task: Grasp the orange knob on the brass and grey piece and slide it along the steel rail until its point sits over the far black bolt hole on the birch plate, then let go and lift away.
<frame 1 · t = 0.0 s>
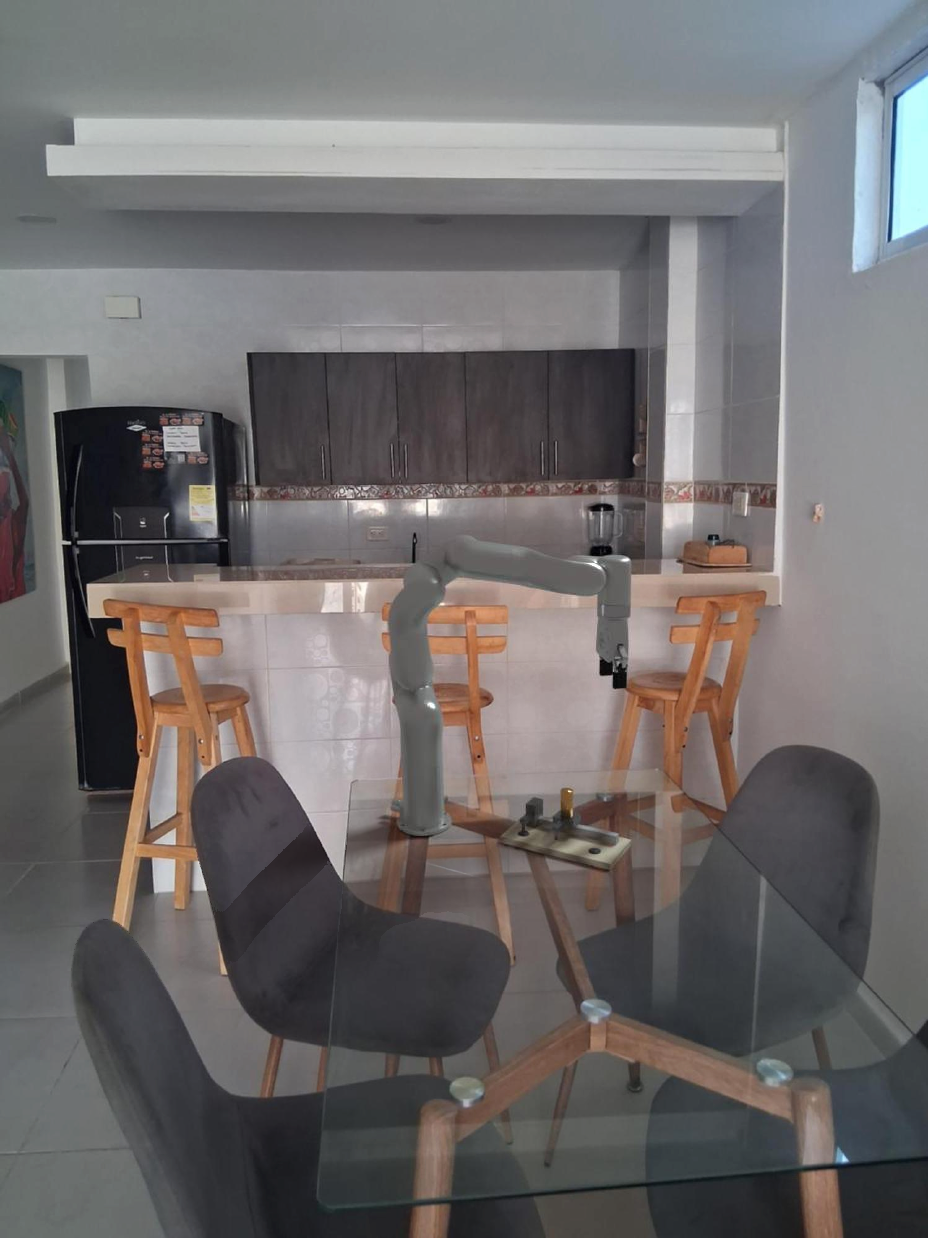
hand: (612, 681, 219), 31 cm above the table, tool pointing down, fingers open, 9 cm apart
hole plate: (565, 844, 209), on the table
brass and grey piece: (563, 813, 208), point 7 cm above the table, slide at 8.0 cm
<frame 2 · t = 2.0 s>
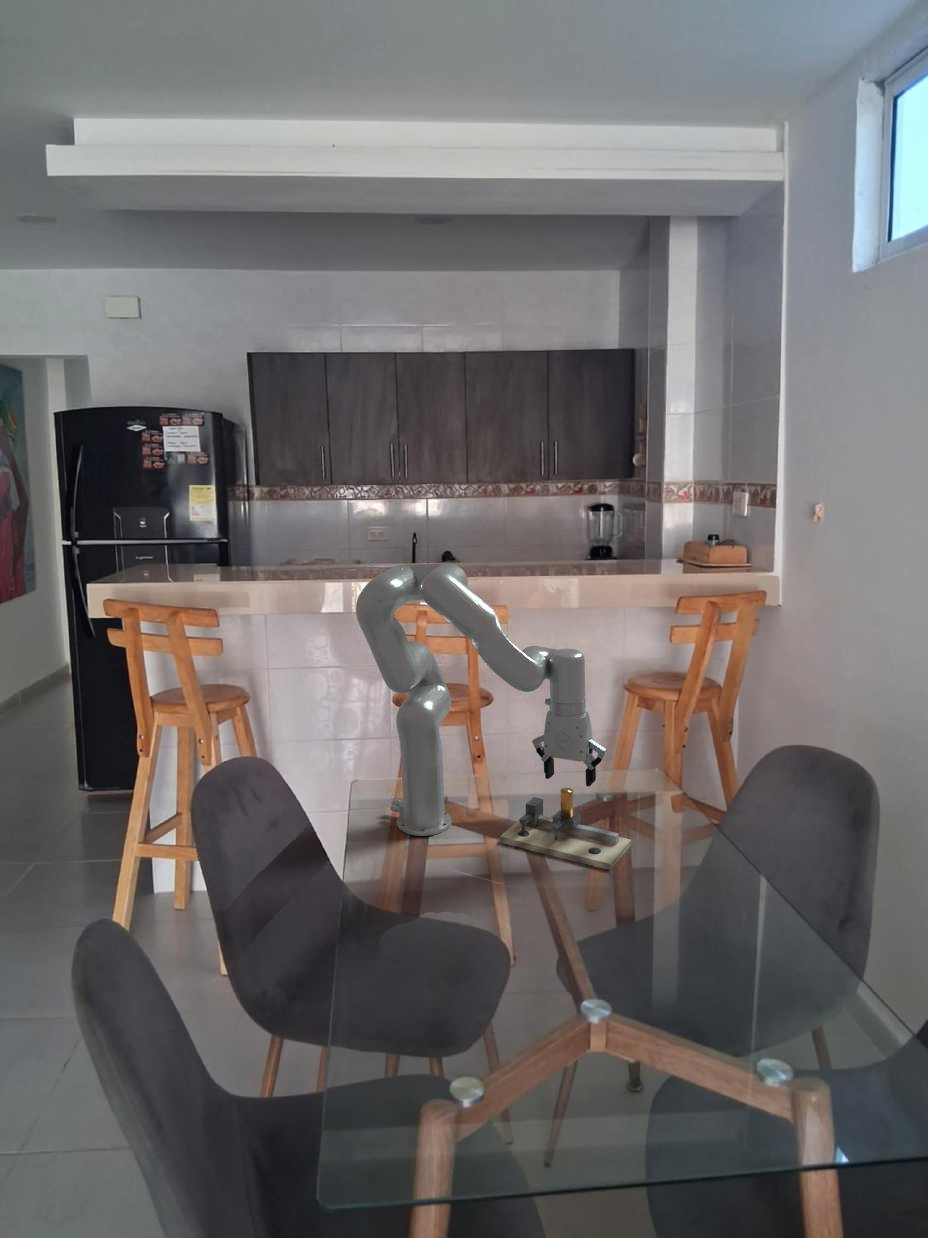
hand: (569, 780, 208), 14 cm above the table, tool pointing down, fingers open, 9 cm apart
nothing on the table moved.
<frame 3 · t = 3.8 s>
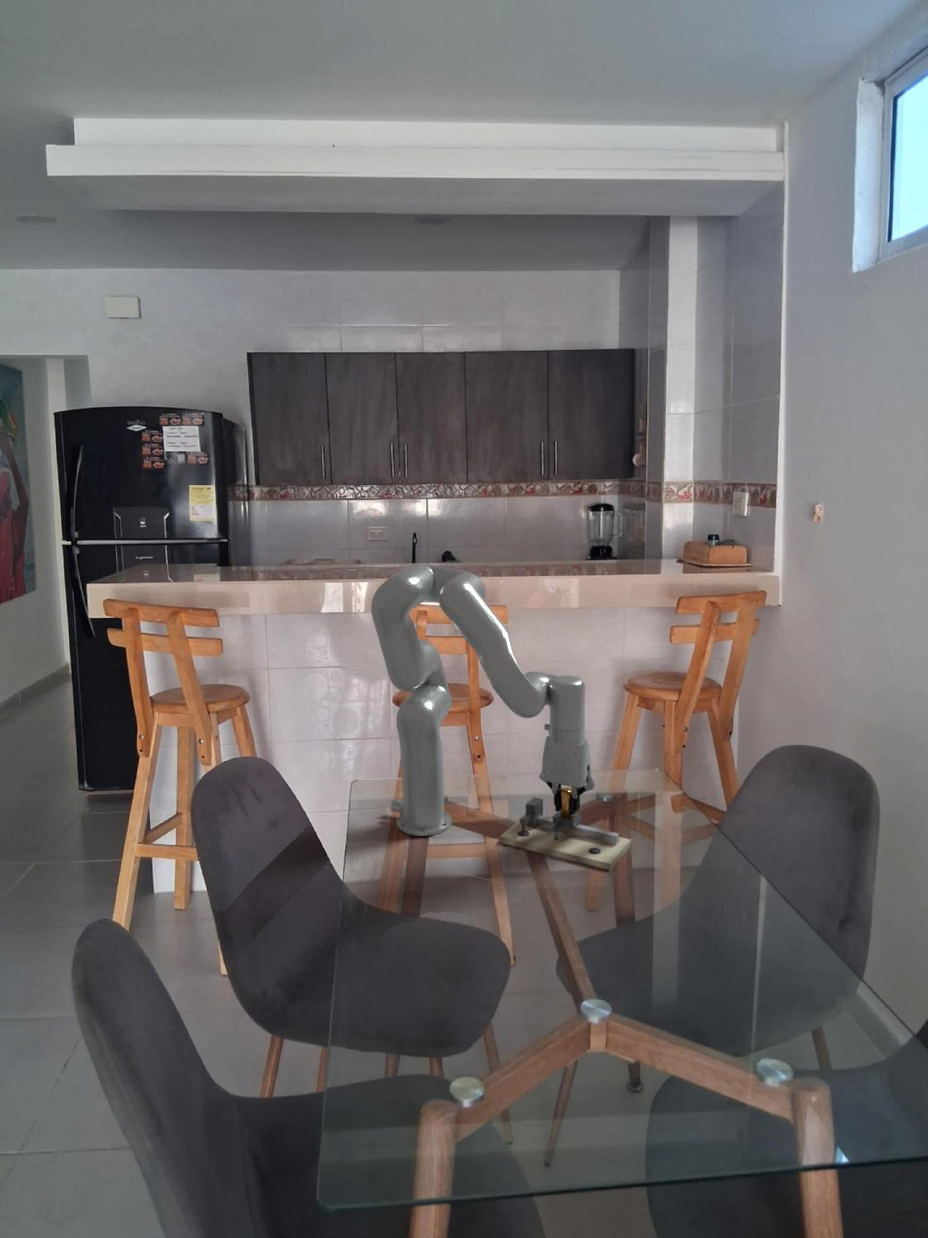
hand: (566, 810, 210), 7 cm above the table, tool pointing down, fingers closed on brass and grey piece, 2 cm apart
brass and grey piece: (563, 813, 208), point 7 cm above the table, slide at 8.0 cm, touching gripper
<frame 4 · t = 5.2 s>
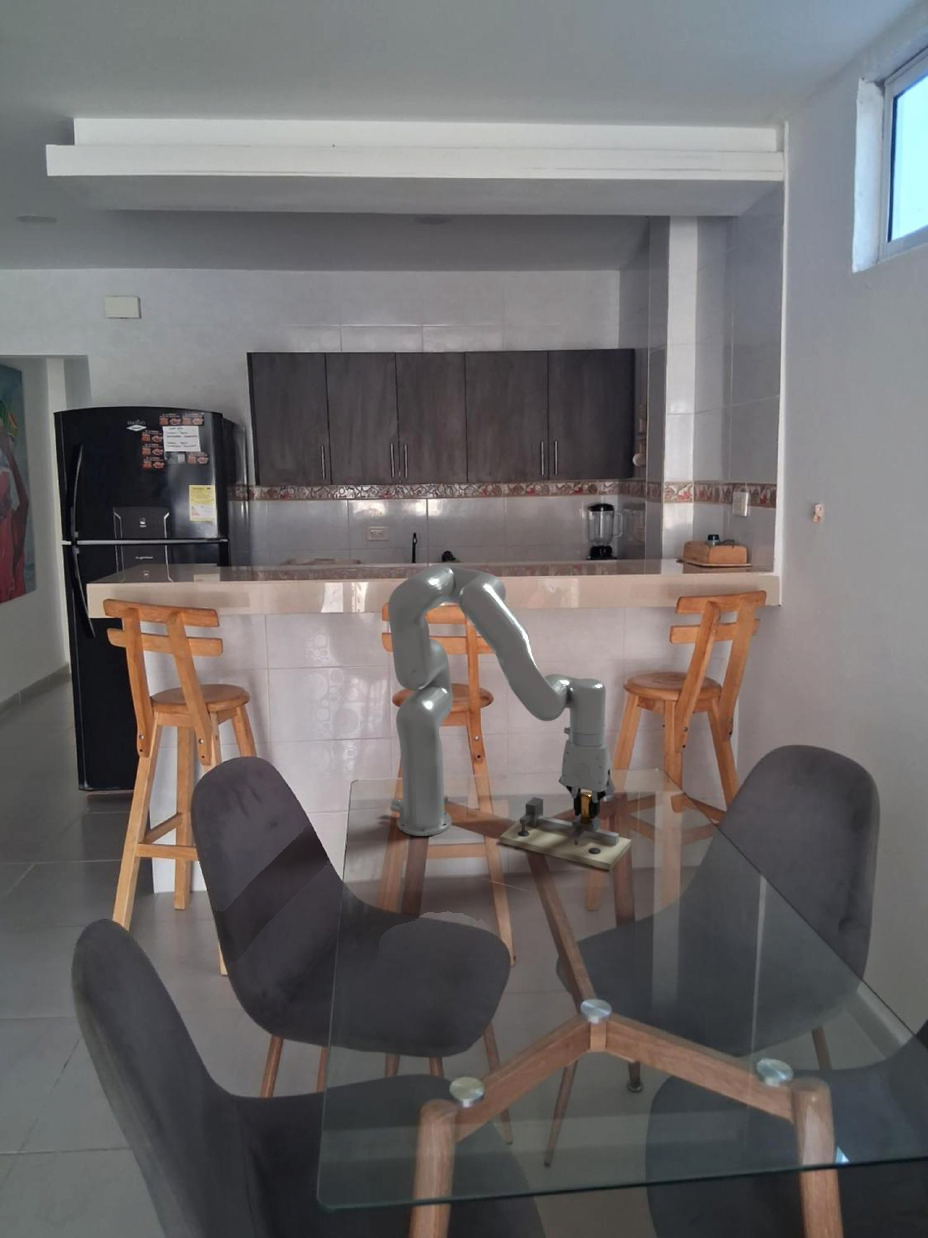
hand: (586, 814, 208), 7 cm above the table, tool pointing down, fingers closed on brass and grey piece, 2 cm apart
brass and grey piece: (582, 817, 206), point 7 cm above the table, slide at 12.7 cm, touching gripper
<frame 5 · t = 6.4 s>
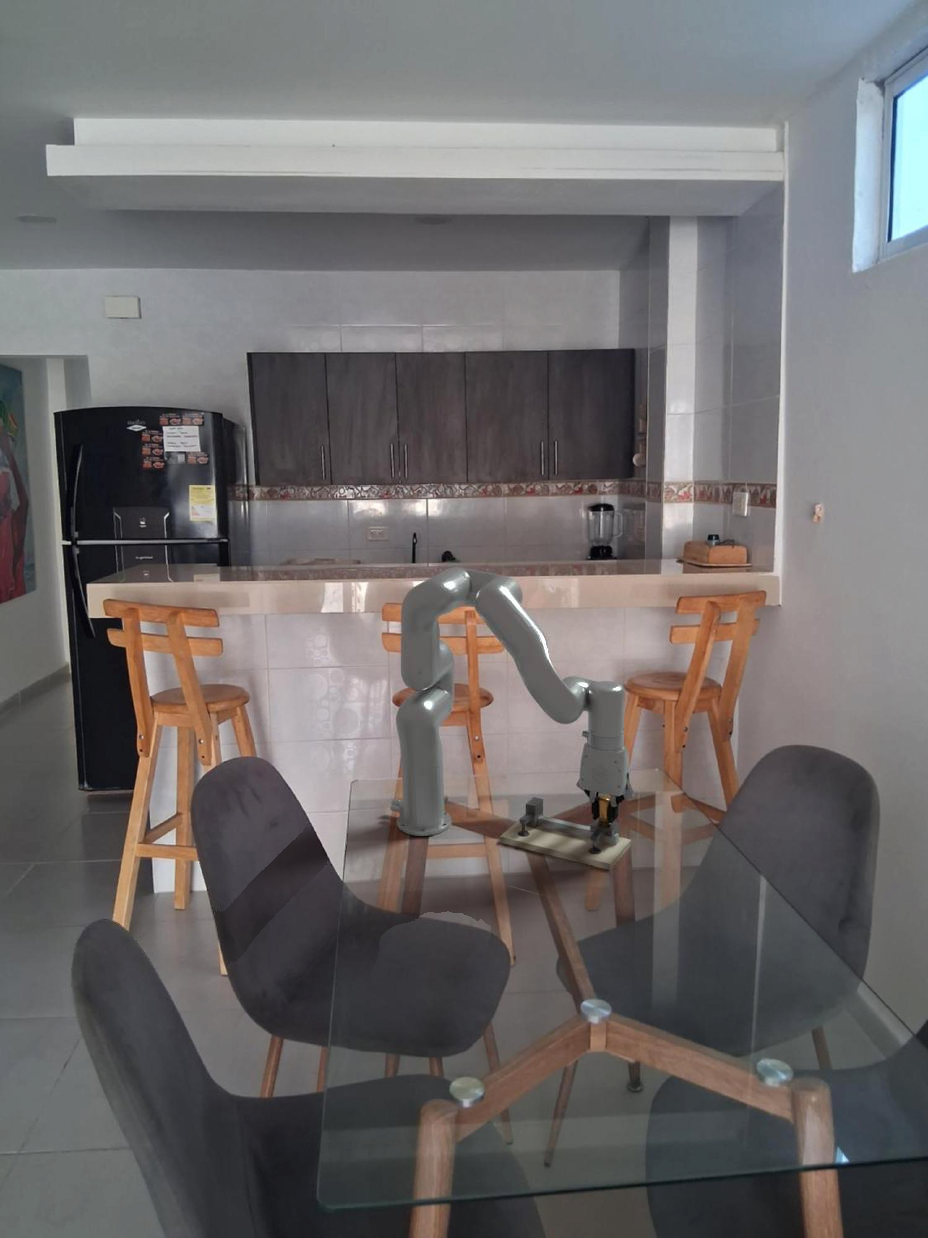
hand: (604, 818, 206), 7 cm above the table, tool pointing down, fingers closed on brass and grey piece, 2 cm apart
brass and grey piece: (601, 822, 204), point 7 cm above the table, slide at 17.0 cm, touching gripper
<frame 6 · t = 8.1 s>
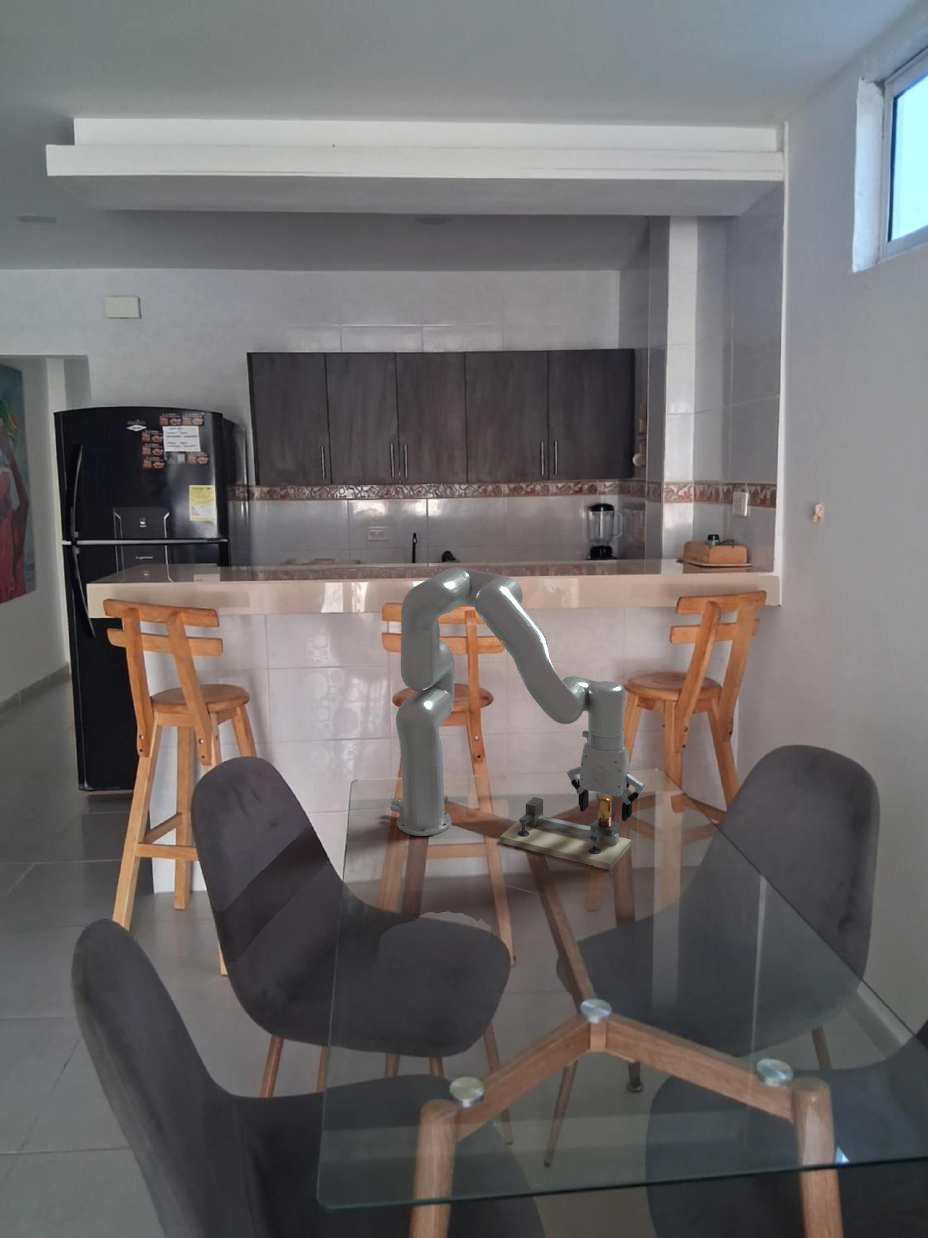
hand: (604, 814, 205), 8 cm above the table, tool pointing down, fingers open, 9 cm apart
brass and grey piece: (601, 822, 204), point 7 cm above the table, slide at 17.0 cm
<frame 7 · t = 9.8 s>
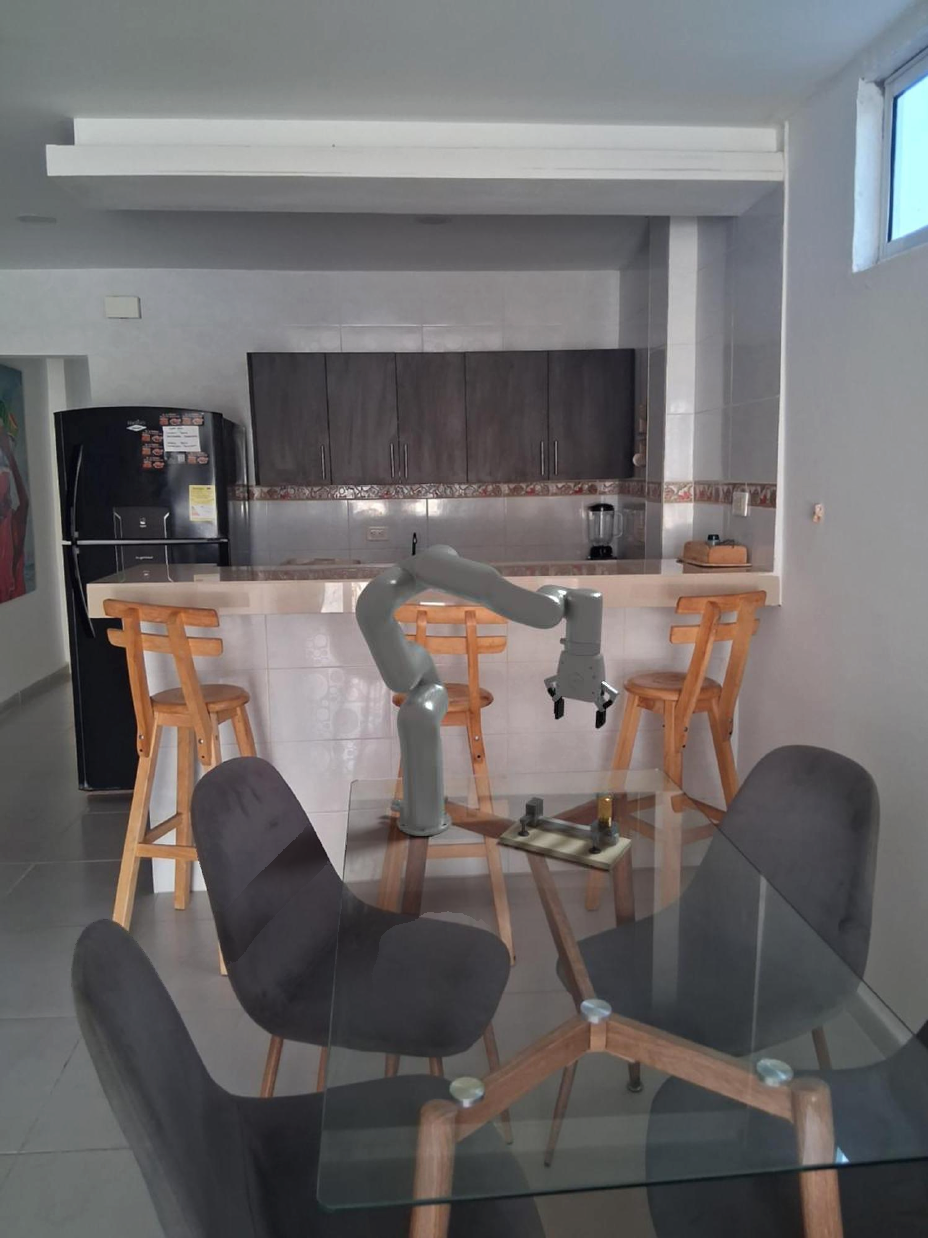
hand: (579, 722, 207), 27 cm above the table, tool pointing down, fingers open, 9 cm apart
nothing on the table moved.
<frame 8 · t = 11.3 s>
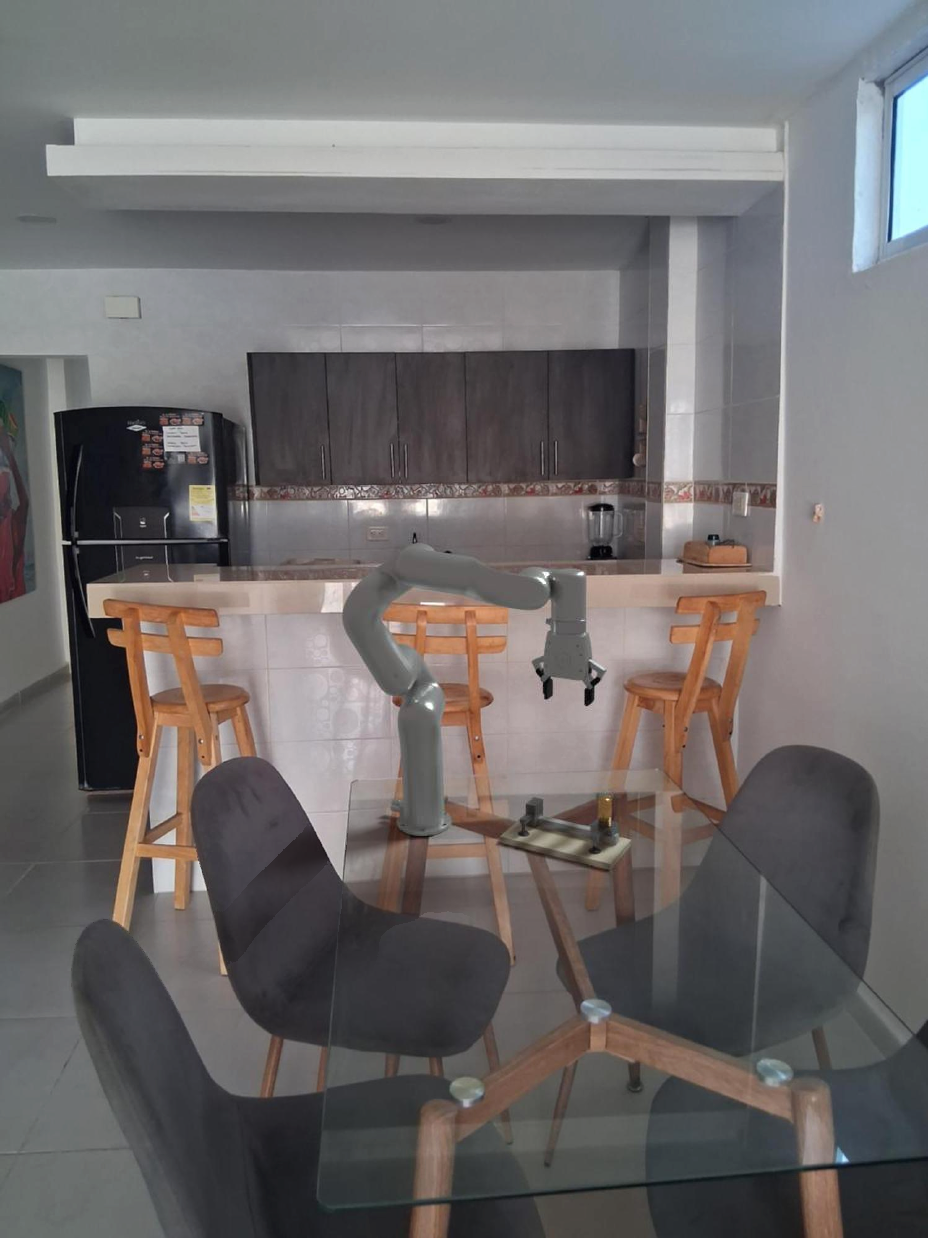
hand: (568, 701, 209), 30 cm above the table, tool pointing down, fingers open, 9 cm apart
nothing on the table moved.
at the end: brass and grey piece slide at 17.0 cm; the gripper is holding nothing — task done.
